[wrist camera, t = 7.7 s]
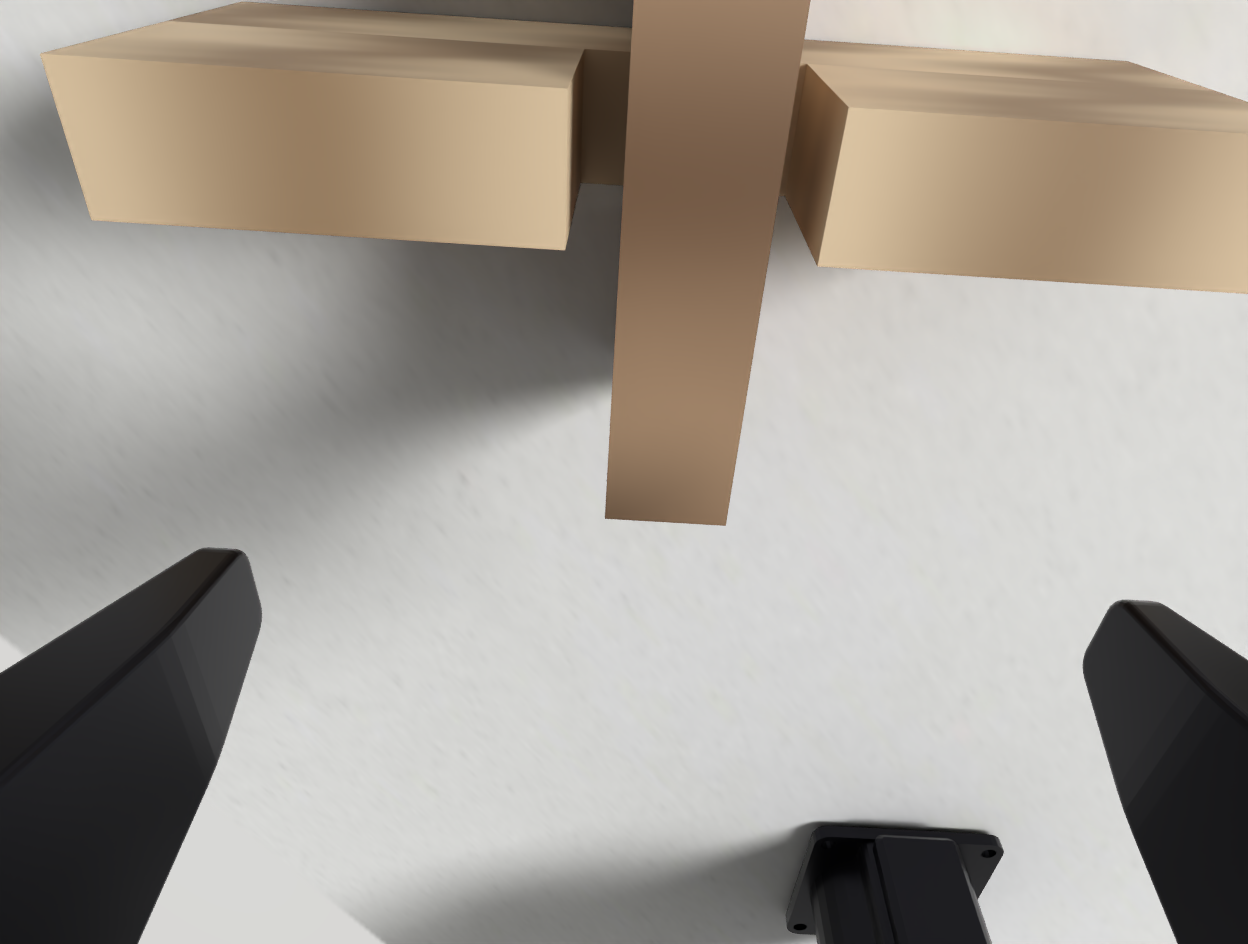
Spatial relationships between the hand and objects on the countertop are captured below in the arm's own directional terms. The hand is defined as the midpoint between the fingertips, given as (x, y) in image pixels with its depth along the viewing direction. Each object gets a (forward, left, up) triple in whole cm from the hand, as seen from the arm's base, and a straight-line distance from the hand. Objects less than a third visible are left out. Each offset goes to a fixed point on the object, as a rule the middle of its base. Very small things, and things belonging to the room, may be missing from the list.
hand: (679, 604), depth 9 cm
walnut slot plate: (+3, 0, -11) cm, 11 cm away
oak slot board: (+3, 0, -10) cm, 11 cm away
